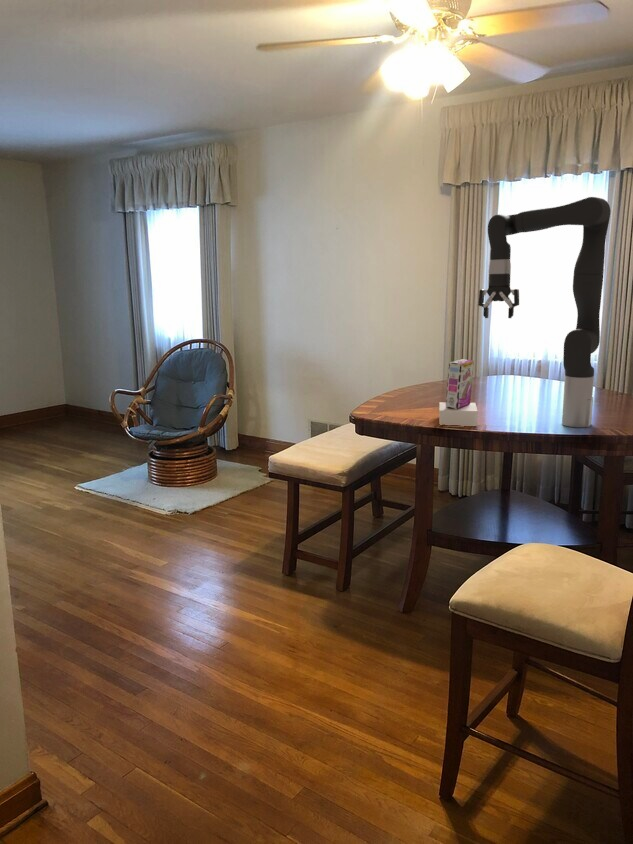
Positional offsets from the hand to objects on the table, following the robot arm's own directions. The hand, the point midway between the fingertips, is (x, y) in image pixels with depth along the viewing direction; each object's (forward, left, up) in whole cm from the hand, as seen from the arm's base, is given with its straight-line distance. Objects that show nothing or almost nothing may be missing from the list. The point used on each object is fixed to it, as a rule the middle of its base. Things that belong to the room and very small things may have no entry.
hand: (498, 318), depth 240 cm
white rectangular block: (+8, +18, -36) cm, 41 cm away
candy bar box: (+8, +18, -31) cm, 36 cm away
